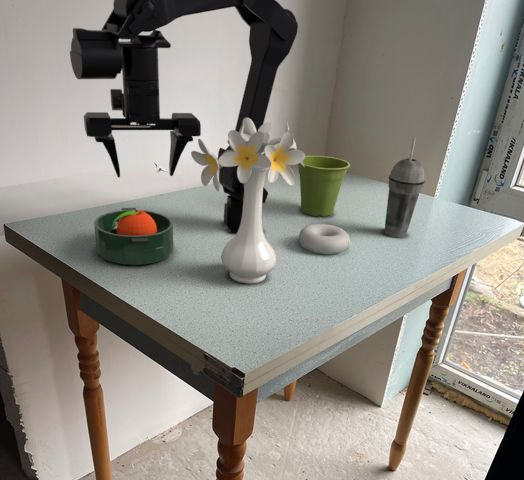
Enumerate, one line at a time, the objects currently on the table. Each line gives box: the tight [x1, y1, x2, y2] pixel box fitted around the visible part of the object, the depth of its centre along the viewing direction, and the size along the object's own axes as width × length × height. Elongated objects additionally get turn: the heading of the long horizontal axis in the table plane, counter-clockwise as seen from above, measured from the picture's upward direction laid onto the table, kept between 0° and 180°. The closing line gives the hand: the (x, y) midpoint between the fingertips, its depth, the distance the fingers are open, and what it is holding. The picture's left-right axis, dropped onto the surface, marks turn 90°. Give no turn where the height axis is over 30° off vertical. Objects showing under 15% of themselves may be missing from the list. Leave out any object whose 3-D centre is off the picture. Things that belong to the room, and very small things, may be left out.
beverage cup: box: [384, 135, 426, 238], centre depth 114 cm, size 7×7×20 cm
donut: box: [298, 223, 351, 255], centre depth 109 cm, size 10×4×10 cm
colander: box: [93, 209, 174, 266], centre depth 99 cm, size 13×13×6 cm
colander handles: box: [121, 207, 149, 245], centre depth 98 cm, size 3×17×1 cm, turn 18°
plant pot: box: [297, 155, 351, 217], centre depth 125 cm, size 12×12×11 cm
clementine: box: [112, 209, 157, 236], centre depth 99 cm, size 8×7×7 cm
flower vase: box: [190, 118, 306, 285], centre depth 88 cm, size 13×18×25 cm
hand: (145, 176), depth 99 cm, fingers open, 9 cm apart
